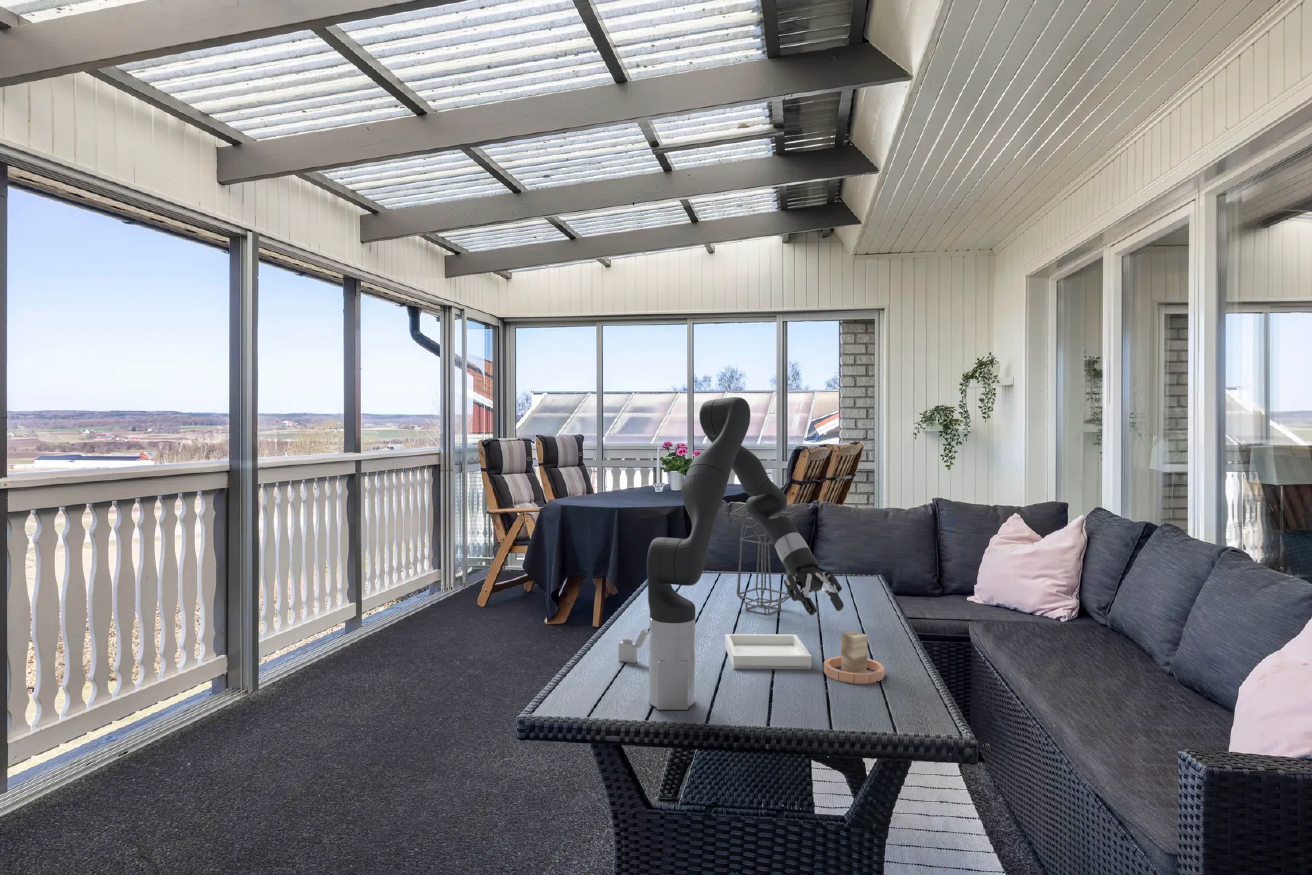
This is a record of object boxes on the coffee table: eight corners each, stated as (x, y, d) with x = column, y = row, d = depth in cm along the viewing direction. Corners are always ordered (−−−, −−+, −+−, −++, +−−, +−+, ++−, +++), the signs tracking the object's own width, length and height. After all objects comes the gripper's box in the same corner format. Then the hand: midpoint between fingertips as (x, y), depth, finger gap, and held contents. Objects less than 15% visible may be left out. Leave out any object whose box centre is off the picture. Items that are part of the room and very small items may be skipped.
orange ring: (891, 683, 170) (891, 674, 170) (832, 683, 170) (832, 674, 170) (873, 664, 183) (873, 656, 183) (818, 664, 183) (818, 655, 183)
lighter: (618, 660, 184) (618, 627, 184) (621, 658, 185) (621, 625, 185) (646, 664, 181) (646, 630, 181) (648, 662, 183) (649, 628, 183)
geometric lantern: (799, 610, 234) (801, 495, 232) (767, 621, 223) (768, 499, 221) (758, 600, 245) (759, 490, 243) (725, 610, 234) (726, 494, 232)
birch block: (866, 674, 176) (867, 635, 175) (853, 677, 173) (854, 637, 173) (853, 669, 179) (854, 631, 179) (841, 672, 177) (841, 633, 177)
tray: (811, 669, 179) (811, 656, 179) (733, 668, 179) (733, 655, 179) (795, 646, 197) (796, 634, 197) (725, 645, 197) (725, 634, 197)
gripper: (780, 548, 187) (812, 606, 177) (824, 544, 194) (857, 599, 185) (766, 566, 192) (796, 623, 182) (809, 561, 199) (841, 616, 189)
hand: (827, 611), depth 183 cm, fingers open, 8 cm apart
